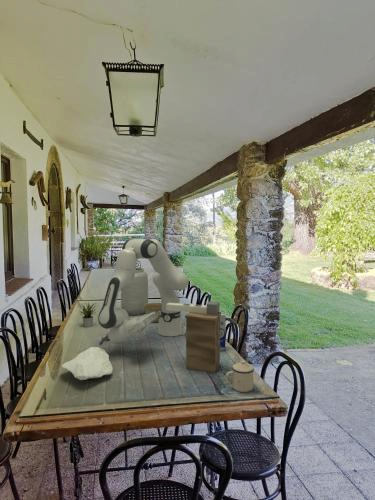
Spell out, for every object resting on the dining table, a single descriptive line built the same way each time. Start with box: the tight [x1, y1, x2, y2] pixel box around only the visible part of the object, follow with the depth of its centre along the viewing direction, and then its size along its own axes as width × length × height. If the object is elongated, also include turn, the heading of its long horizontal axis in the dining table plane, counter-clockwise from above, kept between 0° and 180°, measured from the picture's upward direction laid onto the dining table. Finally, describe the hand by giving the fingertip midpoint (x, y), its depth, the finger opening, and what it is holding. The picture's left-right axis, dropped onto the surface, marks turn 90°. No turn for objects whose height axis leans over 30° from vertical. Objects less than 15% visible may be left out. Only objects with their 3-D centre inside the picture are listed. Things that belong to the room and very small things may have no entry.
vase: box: [120, 267, 149, 316], centre depth 275 cm, size 20×20×34 cm
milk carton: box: [220, 314, 227, 352], centre depth 201 cm, size 7×7×20 cm
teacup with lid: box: [225, 360, 255, 393], centre depth 156 cm, size 12×9×12 cm
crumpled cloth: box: [61, 346, 113, 381], centre depth 171 cm, size 24×35×9 cm
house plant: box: [79, 302, 98, 328], centre depth 243 cm, size 14×14×16 cm
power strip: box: [166, 300, 221, 315], centre depth 181 cm, size 6×26×5 cm, turn 73°
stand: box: [184, 311, 222, 374], centre depth 177 cm, size 12×15×26 cm
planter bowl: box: [144, 302, 162, 323], centre depth 256 cm, size 16×16×11 cm
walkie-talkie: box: [99, 331, 111, 345], centre depth 217 cm, size 9×4×20 cm
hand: (156, 315), depth 187 cm, fingers open, 8 cm apart
